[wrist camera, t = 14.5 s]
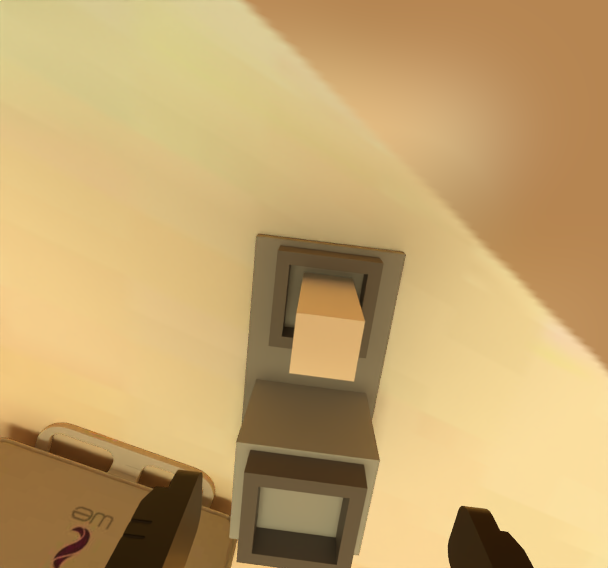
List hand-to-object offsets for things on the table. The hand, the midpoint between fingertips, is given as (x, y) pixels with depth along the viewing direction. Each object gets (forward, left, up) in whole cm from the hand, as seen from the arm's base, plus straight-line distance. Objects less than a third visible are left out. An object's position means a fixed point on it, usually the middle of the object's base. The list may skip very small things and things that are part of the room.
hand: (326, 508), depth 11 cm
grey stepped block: (+7, 0, -21) cm, 22 cm away
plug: (0, 0, -20) cm, 20 cm away
